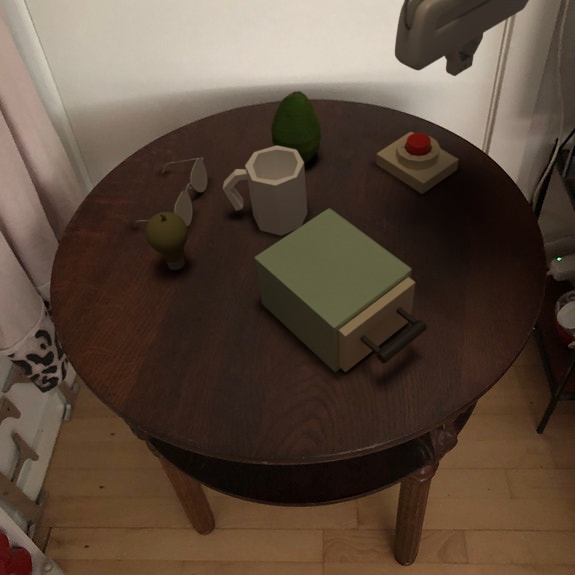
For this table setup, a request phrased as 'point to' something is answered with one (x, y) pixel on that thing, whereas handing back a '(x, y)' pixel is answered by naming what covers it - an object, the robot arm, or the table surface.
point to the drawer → (380, 327)
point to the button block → (417, 164)
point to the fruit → (297, 126)
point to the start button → (418, 144)
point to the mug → (272, 189)
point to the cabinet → (325, 280)
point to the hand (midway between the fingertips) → (458, 69)
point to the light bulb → (168, 237)
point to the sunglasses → (198, 184)
